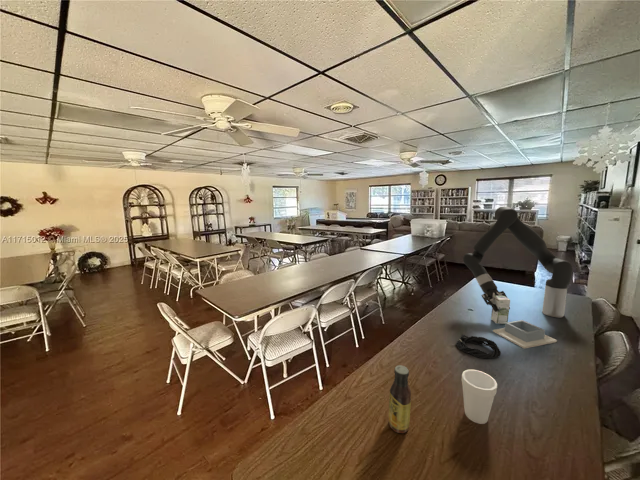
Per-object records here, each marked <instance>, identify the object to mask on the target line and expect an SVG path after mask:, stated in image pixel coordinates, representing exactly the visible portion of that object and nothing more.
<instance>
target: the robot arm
mask: <svg viewBox="0 0 640 480" xmlns="http://www.w3.org/2000/svg"><path fill="white" fill-rule="evenodd" d="M494 217H495V219H496V221H495V224H494V225H493V226H491V228H490V229H489V230H487V232H485V233H484V234H483V235H482V236H481V237H480V238H479V239H478V241H476V243H475V244H474V245H473V252H470V253H469V252H468V253H467V252H466V253H465V254H463V256H462V257H463V258H462V261H463V263H464V265H465V266H466V267H467V268H468V269H469V270H470V271H471V273H472V274H473V277H474V278H475V280H476V282H477V283H478V286H479V287H480V289H481V291H482V292H483V294H481V298H482V299H483V301H484V303H486V305H487V306H490V307H491V309H492V308H493V310H494V311H495V312H497V311H499V309H498V308H497V306H496V304H495V297H494V296H505V297H507V298H508V296H507V294H506V293H505V291H504V290H502V291H501V290H500V291H499V290H498V286H497V285H496V282H494V280H493V278H492V276H490V274H489V273H488V272H487V269H486V268H485V267H484V266H482V265H481V264H480V263H481V262H482V260H483V259H484V256H485V254H486V252H487V251H488V250H490V249H489V248H490V247H492V245H493V244H494V243H495V241H496V240H497V239H498V238H499V237H500V236H501V235H502V234H503V233H504V232H505V231H506V230H507V229H508V230H509V231H510V232H511V234H512V235H513V236H514V237H515V239H516V240H517V241H518V243H520V244H521V245H522V246H523V247H524V248H525V249H526V250H527V251H528V252H530V254H531V255H532V256H534V257H535V258H536V259H537V260H538V262H540V264H541V265H542V266H543V268H544V269H545V270H546V271H547V272H548V273H550V274H552V275H551V278H550V279H547V280H546V281H545V286H544V287H545V288H544V294H543V295H544V296H543V302H542V303H543V304H542V311H541V312H542V314H544V315H545V316H548V317H552V318H559V319H560V318H564V316H565V314H566V304H567V298H566V297H567V292H568V291H567V290H568V286H569V284H570V283H571V280H572V275H573V265H572V263H571V262H569V261H567V260H565V259H562V258H559V257H557V256H556V255H555V254H553V253H552V252H551V251H550V250H549V249H548V247H547V243H546V242H545V240H544V239H543V238H542V236H540V235H539V234H538V233H537V232H536V231H535V230H534V229H532V228H531V227H530V226H528V225H527V224H526V223H524V222H523V221H522V220H521V219H520V218H519V214H518V212H517V210H516V209H514V208H511V207H510V206H500V207H498V208H497V209H495V212H494ZM509 310H511V307H509Z"/></svg>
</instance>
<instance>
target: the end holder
mask: <svg viewBox="0 0 640 480" xmlns="http://www.w3.org/2000/svg"><path fill="white" fill-rule="evenodd" d="M492 332H493V333H495V334H497V335H499V336H500V337H503V339H506V340H508V341H509V342H511V343H512V344H515V345H517V346H519V347H520V348H522V349H524V350H525V349H529V348H534V347H540V346H544V345H549V344H553V343H557V341H558V340H557V338H556V339H555V338H553V337H551V336H549V335H546V330H545V329H543V328H541V327H539V326H537V325H535V324H532V323H530V322H528V321H525V320H523V319H519V320H515V321H509V322H507V323H505V324H504V327H503V328H501V327H500V328H496V329H493V330H492Z"/></svg>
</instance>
